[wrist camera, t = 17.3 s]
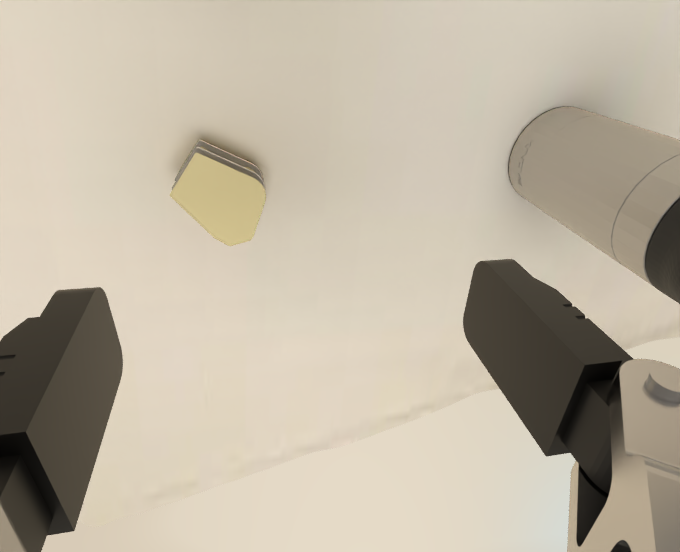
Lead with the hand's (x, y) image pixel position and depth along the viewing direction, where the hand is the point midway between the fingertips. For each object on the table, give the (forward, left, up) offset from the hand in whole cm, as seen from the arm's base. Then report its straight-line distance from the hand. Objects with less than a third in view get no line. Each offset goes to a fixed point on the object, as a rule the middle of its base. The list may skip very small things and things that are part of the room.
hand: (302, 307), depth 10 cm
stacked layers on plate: (+3, +7, -31) cm, 32 cm away
